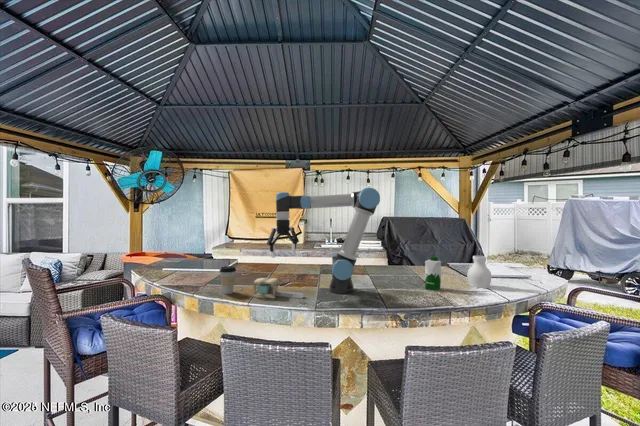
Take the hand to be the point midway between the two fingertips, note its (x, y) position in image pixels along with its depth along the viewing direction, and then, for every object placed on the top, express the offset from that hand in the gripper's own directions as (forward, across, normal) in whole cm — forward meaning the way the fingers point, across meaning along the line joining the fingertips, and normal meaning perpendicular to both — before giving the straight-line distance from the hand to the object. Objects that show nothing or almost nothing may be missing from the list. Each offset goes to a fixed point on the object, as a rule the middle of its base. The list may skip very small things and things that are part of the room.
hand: (283, 256), depth 169 cm
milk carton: (+25, -84, +44) cm, 98 cm away
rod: (+23, 0, +2) cm, 23 cm away
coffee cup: (+22, +24, -24) cm, 41 cm away
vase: (+26, -114, +59) cm, 131 cm away
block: (+22, +10, -7) cm, 25 cm away
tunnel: (+22, +8, -6) cm, 25 cm away
